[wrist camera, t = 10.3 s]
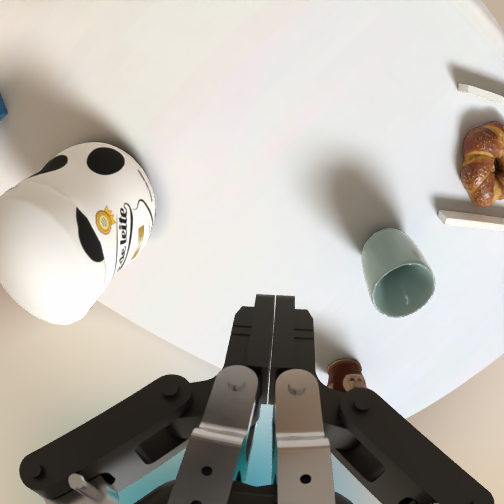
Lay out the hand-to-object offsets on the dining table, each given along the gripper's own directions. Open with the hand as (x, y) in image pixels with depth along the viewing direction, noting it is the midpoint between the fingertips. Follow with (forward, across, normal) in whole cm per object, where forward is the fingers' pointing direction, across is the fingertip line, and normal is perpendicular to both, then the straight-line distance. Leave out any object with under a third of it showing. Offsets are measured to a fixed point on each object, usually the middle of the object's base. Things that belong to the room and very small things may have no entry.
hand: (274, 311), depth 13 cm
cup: (+27, -14, +12) cm, 33 cm away
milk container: (+27, +24, +6) cm, 37 cm away
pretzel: (+28, -28, -2) cm, 39 cm away
